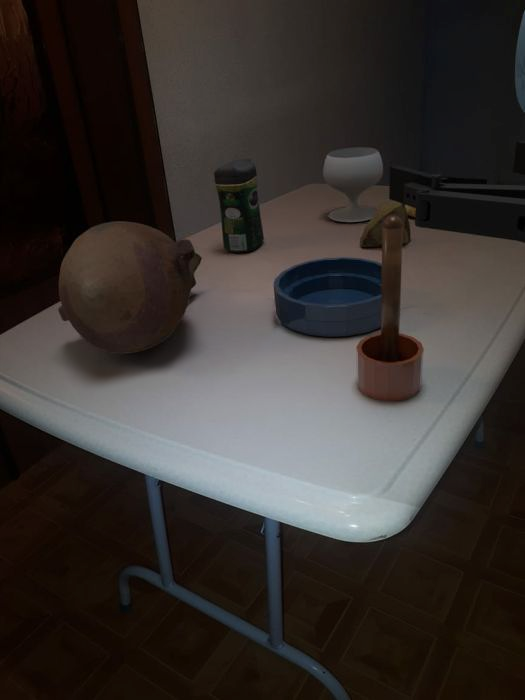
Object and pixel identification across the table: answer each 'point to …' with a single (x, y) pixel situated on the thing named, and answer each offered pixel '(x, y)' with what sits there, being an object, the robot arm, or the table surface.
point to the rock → (374, 227)
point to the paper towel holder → (391, 288)
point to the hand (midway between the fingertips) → (457, 168)
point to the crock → (389, 369)
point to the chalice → (353, 179)
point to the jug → (126, 285)
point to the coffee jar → (239, 205)
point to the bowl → (330, 296)
